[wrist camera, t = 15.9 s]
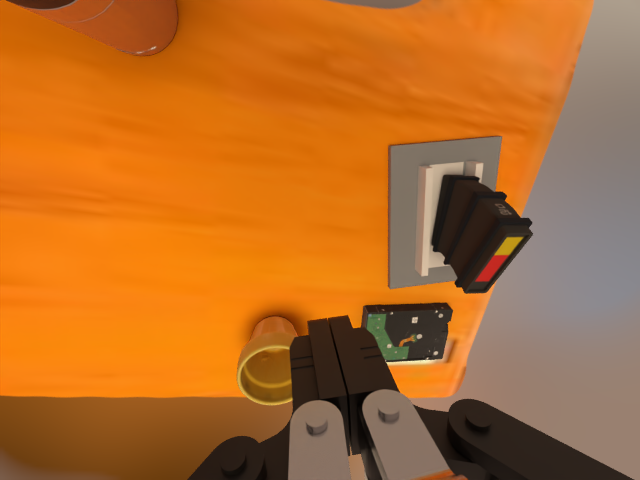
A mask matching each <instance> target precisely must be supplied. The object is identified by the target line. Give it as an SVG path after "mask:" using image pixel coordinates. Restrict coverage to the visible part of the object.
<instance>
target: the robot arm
mask: <svg viewBox="0 0 640 480" xmlns="http://www.w3.org/2000/svg"><path fill="white" fill-rule="evenodd" d="M7 1H9V2H11V3H14V4H16V5H18V6H20V7H23V8H25V9H27V10H30V11H32V12H34V13H36V14H39V15H41V16H44V17H46V18H48V19H50V20H53V21H55V22H57V23H60V24H62V25H64V26H66V27H69V28H71V29H73V30H76V31H78V32H80V33H82V34H85V35H87V36H89V37H92V38H94V39H96V40H98V41H101V42H103V43H105V44H107V45H110V46H112V47H114V48H116V49H118V50H120V51H123V52H126V53H129V54H132V55H136V56H148V55H153V54H156V53H158V52H160V51H162V50H163V49H164V48H165V47H167V46H168V44H169V43H170V42H171V40H172V39H173V37H174V34H175V32H176V28H177V23H178V11H177V6H176V1H175V0H7ZM307 324H308V334H309V335H306V336H299V337H294V339H293V341H292V343H291V345H290V347H289V351H290V367H291V383H292V400H293V412H292V416H291V419H290V421H289V422H288V424H287V425H286V426H285V428H284V429H283V430H282V431H280V432H279V433H278V434H277V435H275V436H273V437H271V438H269V439H267V440H265V441H263V442H261V443H258V442H257V441H256V440H255V439H253V438H251V437H247V436H237V437H234V438H230V439H228V440H226V441H224V442H223V443H221V444H220V445H219V446H217V447H216V448H215V449H214V450H213V452H212V453H211V454H210V455H209V456H208V457H207V458H206V459H205V461H204V462H203V463H202V464H201V465H200V466H199V467H198V468H197V470H196V471H195V472H194V473H193V474H192V475H191V476H190V477H189V478H188V480H351V476H350V468H349V461H348V456H350V446H351V451H352V455H356V454H361V456H362V460H363V463H364V468H365V480H634V479H632V478H630V477H628V476H626V475H624V474H622V473H620V472H618V471H616V470H614V469H612V468H610V467H608V466H607V465H605V464H603V463H600V462H599V461H597V460H595V459H593V458H591V457H589V456H587V455H585V454H583V453H581V452H579V451H577V450H575V449H573V448H572V447H570V446H568V445H566V444H564V443H562V442H560V441H558V440H556V439H554V438H552V437H550V436H548V435H546V434H545V433H543V432H541V431H539V430H537V429H535V428H533V427H531V426H529V425H527V424H525V423H523V422H521V421H519V420H517V419H515V418H514V417H512V416H510V415H508V414H506V413H504V412H502V411H500V410H498V409H496V408H494V407H492V406H490V405H488V404H486V403H484V402H481V401H478V400H474V399H463V400H459V401H456V402H455V403H454V404H452V405H451V407H450V409H449V412H443V411H436V410H428V409H423V408H420V407H418V406H415V405H413V404H412V403H411V401H410V400H409V399H408V398H407V397H406V396H404V395H403V394H401V393H400V392H399V390H398V388H397V385H396V383H395V381H394V379H393V377H392V374H391V372H390V370H389V368H388V366H387V363H386V361H385V359H384V357H383V355H382V352H381V350H380V348H379V346H378V344H377V341H376V339H375V337H374V335H373V334H372V333H370V332H369V331H368V330H367V329H366V328H365V327H361V328H354V329H353V327H352V325H351V322H350V319H349V317H348V315H346V316H339V317H331V318H328V320H327V318H325V319H317V320H310V321H307Z"/></svg>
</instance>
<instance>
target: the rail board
mask: <svg viewBox="0 0 640 480" xmlns="http://www.w3.org/2000/svg"><path fill="white" fill-rule="evenodd" d="M501 141H502V136H492V137H481V138H469V139H458V140H447V141H436V142H424V143H413V144H402V145H391V146H389V153H388V287H389V288H390V289H395V288H402V287H410V286H418V285H425V284H433V283H440V282H448V281H456V279H457V276H456V274H455V272H454V270H453V269H452V267H451V266H450V265H444V263H443V261H444V259H445V257H444V256H443V255H442V254H441V253H440V252H433V251H432V250H433V246H432V244H431V241H432V236H433V230H434V224H435V219H436V213H437V207H438V202H439V196H440V190H441V185H442V179H443V176H444V175H463V176H476V177H479V178H480V180H479V182H480V183H482V184H484V185H486V186H487V187H489V188H490V189H491V190H492V191H494V192H495V189H496V181H497V173H498V165H499V157H500V149H501Z"/></svg>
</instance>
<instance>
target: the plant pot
mask: <svg viewBox="0 0 640 480" xmlns="http://www.w3.org/2000/svg"><path fill="white" fill-rule="evenodd" d="M294 337H298V335H297V333H296V331H295V329H294V327H293V325H292V324H291V322H289V321H288V320H287V319H285V318H282V317H278V316H273V317H268V318H265V319H263V320H262V321H260V322H259V323H258V324H257V325H256V327H255V329H254V331H253V334H252V336H251V339H250V341H249V342H248V343H247V344H246V345H245V347H244V348H243V350H242V351H241V354H240V357H239V361H238V368H237V383H238V386H239V388H240V390H241V391H242V393H243V394H244V395H245V396H246V397H247V398H249V399H250V400H252V401H254V402H256V403H259V404H264V405H279V404H284V403H287V402H290V401H292V383H291V367H290V351H289V347H290V345H291V343H292V341H293V339H294Z"/></svg>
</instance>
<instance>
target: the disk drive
mask: <svg viewBox="0 0 640 480" xmlns="http://www.w3.org/2000/svg"><path fill="white" fill-rule="evenodd" d="M452 312H453V310H452V309H451V307H450V306H449V305H448V304H447V303H428V304H400V305H366V306H363V315H362V325H361V327H365V328H366V329H367V330H368V331H369V332H370V333H372V334H373V335H374V337H375V339H376V341H377V344H378V346H379V348H380V350H381V352H382V355H383V357H384V359H385V361H386V362H399V361H415V360H435V359H442V358H443V354H444V348H445V344H446V340H447V336H448V324H447V323H448V322H449V321H451V317H452Z"/></svg>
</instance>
